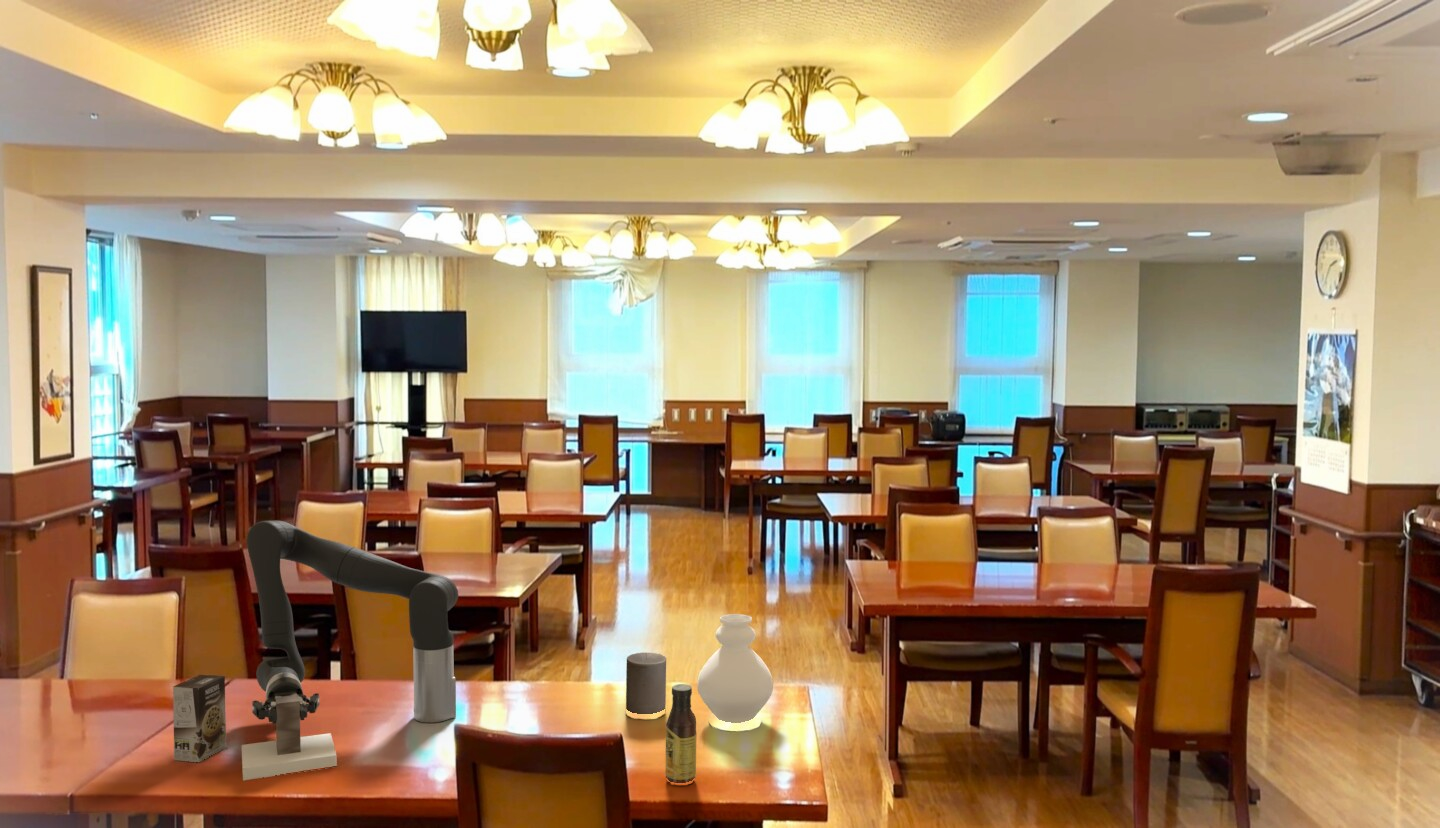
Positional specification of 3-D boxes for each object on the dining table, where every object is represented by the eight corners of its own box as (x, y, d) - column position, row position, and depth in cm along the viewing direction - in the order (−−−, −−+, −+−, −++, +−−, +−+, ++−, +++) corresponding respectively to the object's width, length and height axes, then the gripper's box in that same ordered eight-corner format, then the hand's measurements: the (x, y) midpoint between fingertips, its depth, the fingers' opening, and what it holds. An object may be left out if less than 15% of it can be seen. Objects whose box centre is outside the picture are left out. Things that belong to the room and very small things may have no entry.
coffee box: (199, 763, 228) (198, 688, 227) (173, 760, 230) (171, 686, 229) (227, 747, 237) (226, 675, 236) (201, 745, 239) (200, 673, 238)
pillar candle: (617, 715, 260) (618, 654, 258) (641, 704, 268) (642, 644, 267) (650, 723, 254) (651, 661, 253) (674, 711, 263) (674, 651, 262)
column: (299, 744, 232) (298, 694, 232) (300, 752, 228) (299, 700, 228) (276, 748, 231) (275, 697, 230) (277, 755, 227) (276, 703, 226)
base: (330, 744, 240) (330, 733, 240) (336, 766, 227) (336, 755, 227) (241, 756, 232) (241, 745, 232) (242, 780, 220) (242, 768, 219)
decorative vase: (767, 738, 245) (768, 629, 244) (690, 733, 248) (691, 625, 247) (776, 712, 263) (778, 610, 261) (704, 707, 266) (705, 607, 264)
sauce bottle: (664, 775, 224) (665, 681, 222) (695, 775, 224) (695, 680, 223) (665, 788, 217) (666, 691, 216) (697, 788, 218) (697, 690, 216)
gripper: (249, 680, 239) (250, 704, 223) (318, 672, 245) (324, 695, 229) (249, 714, 239) (251, 740, 224) (318, 705, 245) (325, 730, 230)
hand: (288, 717), depth 227 cm, fingers open, 5 cm apart
